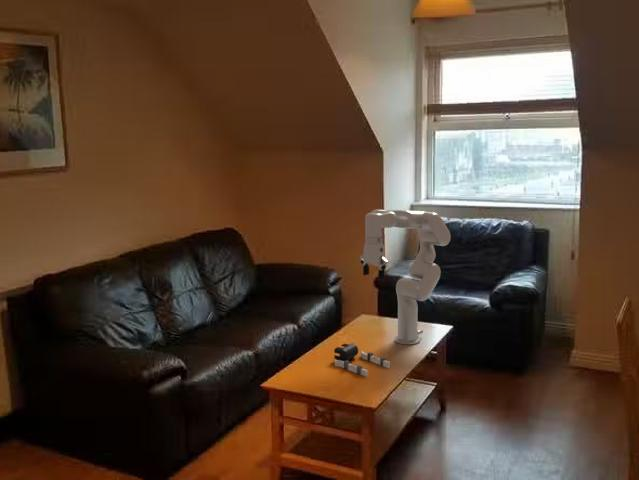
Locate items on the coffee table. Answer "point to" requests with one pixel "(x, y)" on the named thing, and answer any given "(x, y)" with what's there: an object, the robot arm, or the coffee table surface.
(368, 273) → the robot arm
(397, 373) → the coffee table surface
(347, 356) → the end cap
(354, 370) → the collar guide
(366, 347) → the coffee table surface
